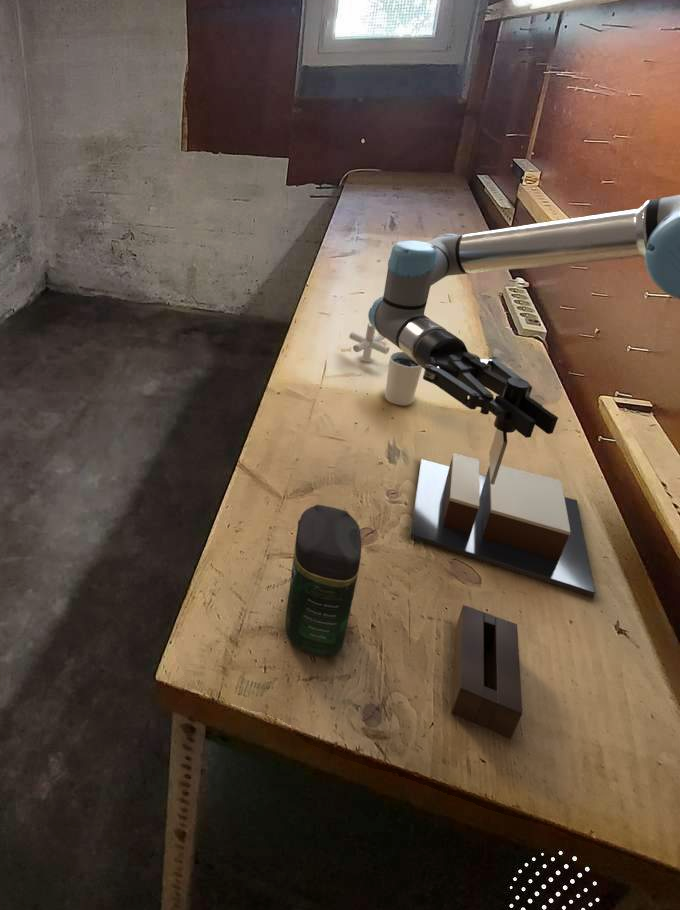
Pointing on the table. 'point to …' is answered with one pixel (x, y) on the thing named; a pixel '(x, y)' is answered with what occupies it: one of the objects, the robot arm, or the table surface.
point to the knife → (515, 395)
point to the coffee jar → (323, 580)
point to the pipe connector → (368, 343)
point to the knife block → (503, 692)
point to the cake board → (430, 530)
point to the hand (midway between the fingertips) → (541, 427)
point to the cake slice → (462, 493)
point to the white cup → (402, 379)
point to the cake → (525, 512)
